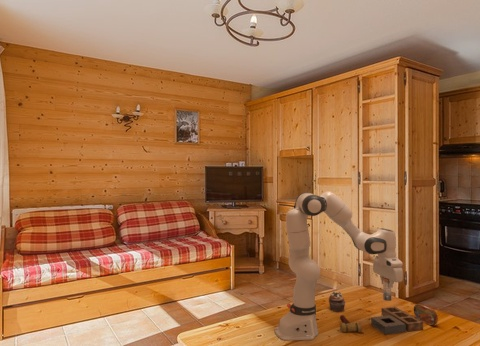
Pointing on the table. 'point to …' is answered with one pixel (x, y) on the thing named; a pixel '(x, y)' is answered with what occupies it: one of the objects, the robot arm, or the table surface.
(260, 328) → the table surface
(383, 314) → the tool rack
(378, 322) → the socket block
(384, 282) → the round peg
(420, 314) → the tin
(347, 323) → the gavel
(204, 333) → the table surface
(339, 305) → the cupcake
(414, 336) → the table surface
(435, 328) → the table surface
